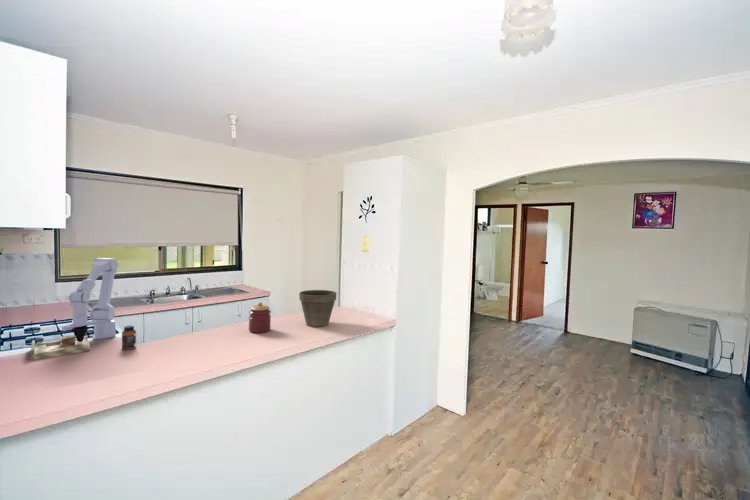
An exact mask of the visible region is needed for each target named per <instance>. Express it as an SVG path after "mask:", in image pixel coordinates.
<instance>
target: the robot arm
mask: <svg viewBox="0 0 750 500" xmlns="http://www.w3.org/2000/svg"><path fill="white" fill-rule="evenodd" d="M118 265H119V263H118V261H117V259H116V258H115V257H111V258H110V257H95V258H94V259H93V260H92V264H91V266H92V269H91V270H90V272H89V273H88V276H87V278H86V279H85V278H83V280H82V281H81V282H80V284H79V286H78V287H77V288H76V290H74V291H73V292H71V293H70V295H69V298H68V300H69V302H70V307H72V323H70V324H67V325H62V326H61V331H64V332H65V331H69V330H71V332H73V334H74V335H75V338H77V341H78V342H82V341H83V338H84V337H85V336H86V333H87V331H88V330H89V326H93V327H94V328H93V330H94V331H93V335H92V338H93V340H94V341H95V340H101V339H102V340H103V339H109V338H116V337H117V336H116V333H117V332H116V320H115V318H114V317H115V307H114V306H113V305H112V304H110V303H111V297H112V292H113V291H112V290H113V287H114V286H113V285H114V279H115V275H116V273H117V270H118ZM100 275H102V279H101V284H100V290H99V295H98V301H97V303H96V304H94V305H93V306H92V309H91V311H90V313H89V319H90V320H89V321H88V302H89V301H90V299H91V295H92V293H91V292H92V291H93V289H94V288H95V286H96V280H97V279H98V278H99V276H100Z"/></svg>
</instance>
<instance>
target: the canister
mask: <svg viewBox="0 0 750 500" xmlns="http://www.w3.org/2000/svg"><path fill="white" fill-rule="evenodd" d="M271 312H272V310H270V307H269V306H268V305H267V304H263V303H262V302H261V301H260V302H258V303H257V304H256V305H255V304H254V305H253V306H252V307H250V310H249V311H248V314H249V317H248V331H250V333H252V332H255V333H254V334H263V333H262V332H265V333H268V332H270V331H271V327H272V326H271V317H272V316H271ZM269 330H270V331H269ZM267 331H268V332H267Z"/></svg>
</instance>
